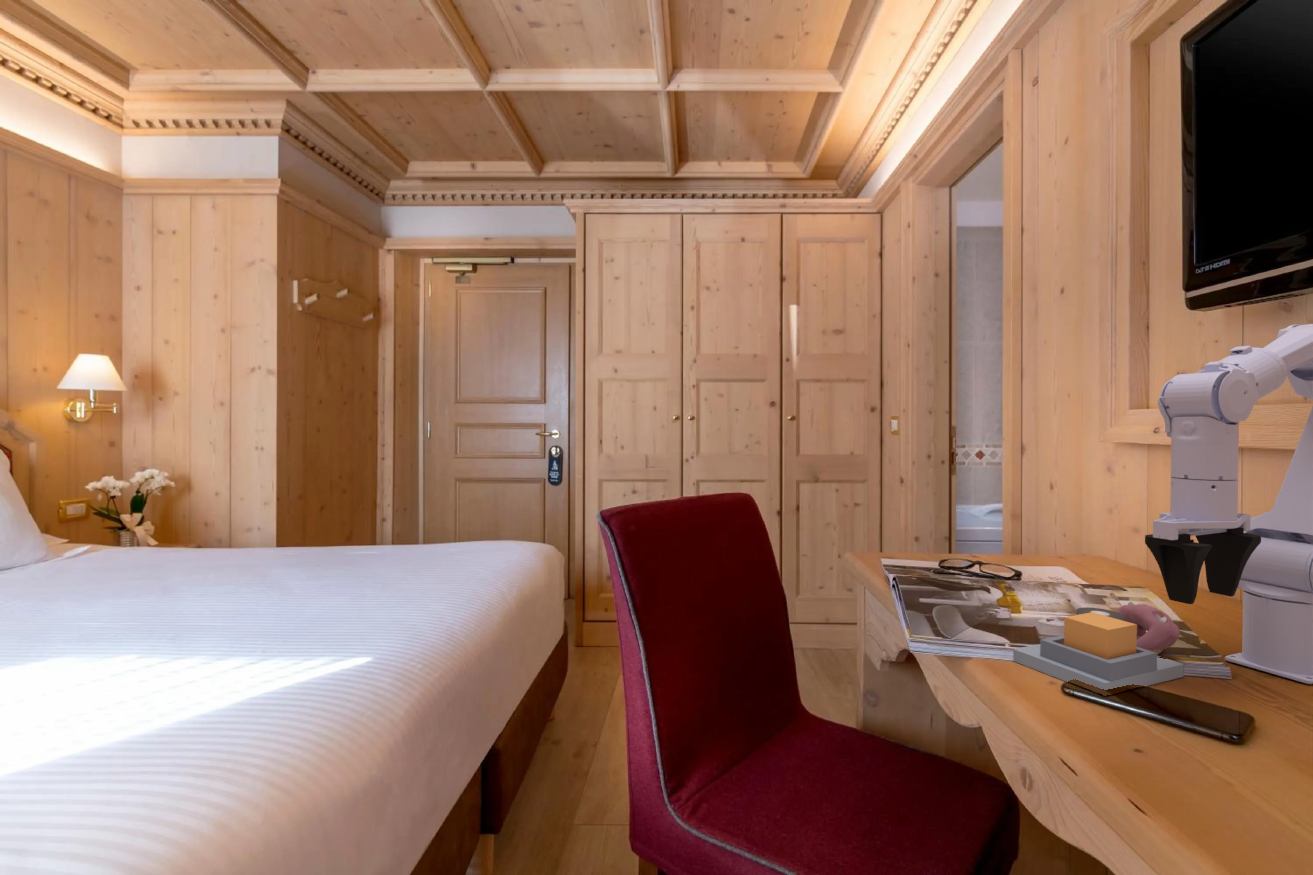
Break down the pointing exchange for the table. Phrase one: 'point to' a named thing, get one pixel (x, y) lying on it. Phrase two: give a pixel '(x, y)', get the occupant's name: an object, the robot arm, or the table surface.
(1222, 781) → the table surface
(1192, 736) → the table surface
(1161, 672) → the chassis
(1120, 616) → the wheel
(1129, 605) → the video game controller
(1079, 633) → the orange cube
